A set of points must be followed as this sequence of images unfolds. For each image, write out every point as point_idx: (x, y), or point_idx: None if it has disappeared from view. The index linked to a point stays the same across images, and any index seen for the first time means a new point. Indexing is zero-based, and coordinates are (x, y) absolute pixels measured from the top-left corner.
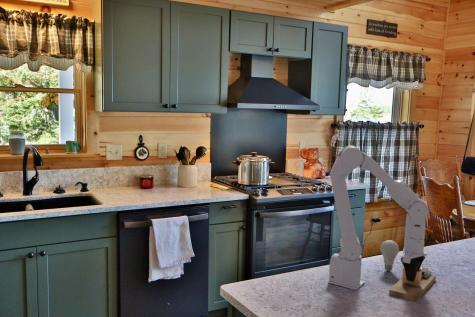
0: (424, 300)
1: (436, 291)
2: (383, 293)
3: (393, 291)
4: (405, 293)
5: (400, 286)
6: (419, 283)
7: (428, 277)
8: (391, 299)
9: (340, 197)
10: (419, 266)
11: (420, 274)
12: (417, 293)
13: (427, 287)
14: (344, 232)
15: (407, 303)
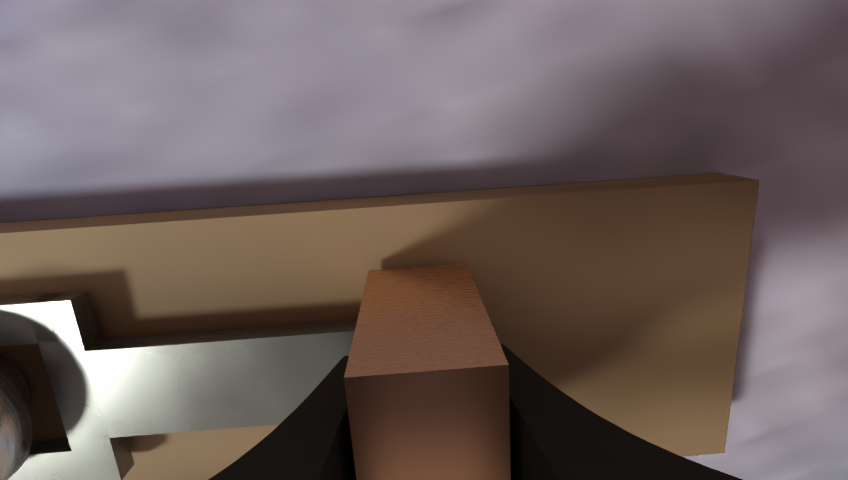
0: (626, 119)
1: (265, 101)
2: (695, 459)
3: (724, 410)
4: (731, 304)
5: None
6: (436, 277)
7: (6, 291)
8: (792, 362)
9: None
10: (327, 465)
11: (418, 334)
12: (650, 207)
13: (280, 206)
14: None
15: (806, 223)
